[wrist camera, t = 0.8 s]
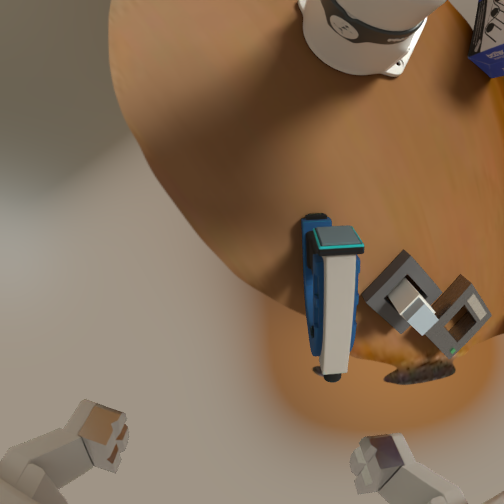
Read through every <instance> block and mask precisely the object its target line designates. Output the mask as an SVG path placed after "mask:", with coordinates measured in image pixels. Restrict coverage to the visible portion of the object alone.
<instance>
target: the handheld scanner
mask: <svg viewBox="0 0 504 504" xmlns="http://www.w3.org/2000/svg"><path fill="white" fill-rule="evenodd" d="M301 225H302V248H303V277H304V295H305V308H306V318H307V325H308V334H309V341H310V348H311V352H312V355H313V356H319V362H320V366H321V370H322V374H323V375H324V379H325V380H326V381H328V382H337V381H339V380H340V378H341V373H346V372H347V368H348V360H349V352H350V351H351V350H352V347H353V344H354V340H355V334H356V324H357V323H356V321H355V319H356V307H357V305H358V300H359V294H358V273H360V259H359V257H358V256H357V254H363V253H364V244H363V242H362V241H361V239H360V238H359V236H358V235H357V233H356V232H355V230H354V229H353V227H352V226H332V221H331V219H330V218H329V217H327V215H326V214H324V213H315V214H308V215H305V218H302V219H301Z"/></svg>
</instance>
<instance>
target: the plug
mask: <svg viewBox="0 0 504 504" xmlns="http://www.w3.org/2000/svg"><path fill="white" fill-rule="evenodd" d="M387 296H388V297H389V299H390V300H391V302H392V303H393V305H394V306H395V308H396V309H397V311H398V313H399V314H400V315H401V316H402V317H403V318H404V319H405V320H406V321H407V322H408V323H409V324H410V325H411V326H412V327H413V328H414V329H415V330H416V331H418V332H419V333H420V334H421V335H422V336H423V335H424V334H425V333H426V332H427V331H428V330H429V329H430V328H431V327H432V326H433V325H434V324H435V323H436V322H437V321H438V320H439V319H438V318H437V317H436V315H435V313H436V312H435V311H434V310H433V309H432V307H431V306H430V305H429V304H428V303H427V301H426V300H425V299H424V298H423V297H422V295H421V294H420V293H419V292H418V291H417V290H416V289H415V287H414V286H413V285H412V284H411V283H410V282H409V281H408V280H407V279H406V278H405V277H404V278H403V279H402V280H401V281H400V282H399V283H398V284H397V285H396V286H395V287H394V288H393V290H392V291H391V292H390V293H389V294H388V295H387Z"/></svg>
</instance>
